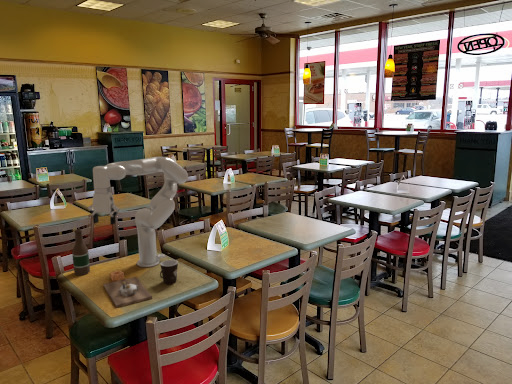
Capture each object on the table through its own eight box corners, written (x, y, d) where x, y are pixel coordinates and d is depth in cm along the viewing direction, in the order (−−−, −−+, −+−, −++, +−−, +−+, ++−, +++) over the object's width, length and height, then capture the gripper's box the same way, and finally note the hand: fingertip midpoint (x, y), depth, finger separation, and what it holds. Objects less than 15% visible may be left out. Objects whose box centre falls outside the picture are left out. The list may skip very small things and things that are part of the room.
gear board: (136, 278, 202) (135, 268, 201) (152, 298, 181) (151, 286, 180) (103, 286, 194) (102, 275, 193) (116, 307, 172) (115, 295, 171)
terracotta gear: (121, 275, 207) (121, 269, 207) (124, 279, 202) (124, 273, 202) (110, 277, 204) (109, 272, 204) (112, 281, 199) (112, 276, 198)
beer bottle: (74, 276, 206) (70, 232, 201) (74, 271, 212) (69, 228, 208) (90, 274, 209) (86, 230, 204) (89, 268, 216) (85, 226, 211)
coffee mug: (172, 276, 205) (171, 258, 203) (182, 281, 199) (181, 262, 197) (152, 283, 197) (151, 264, 195) (161, 288, 191) (160, 269, 189)
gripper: (121, 190, 200) (123, 222, 203) (91, 188, 204) (94, 220, 207) (113, 192, 193) (115, 226, 196) (82, 191, 197) (85, 224, 200)
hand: (104, 223), depth 202 cm, fingers open, 9 cm apart
